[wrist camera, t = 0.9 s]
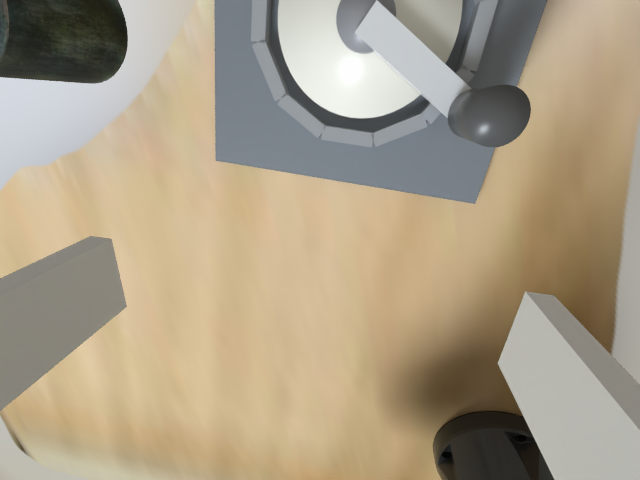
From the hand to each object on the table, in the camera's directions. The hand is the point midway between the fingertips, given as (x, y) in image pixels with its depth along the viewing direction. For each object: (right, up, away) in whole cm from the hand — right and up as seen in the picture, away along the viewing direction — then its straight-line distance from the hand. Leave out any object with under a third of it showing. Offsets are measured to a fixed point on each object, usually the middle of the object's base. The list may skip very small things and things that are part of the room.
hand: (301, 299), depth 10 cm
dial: (+7, +18, +16) cm, 24 cm away
